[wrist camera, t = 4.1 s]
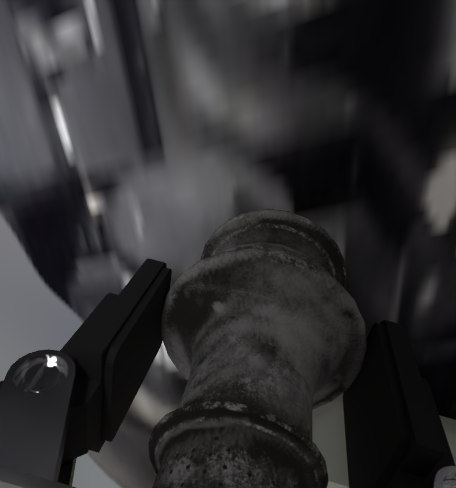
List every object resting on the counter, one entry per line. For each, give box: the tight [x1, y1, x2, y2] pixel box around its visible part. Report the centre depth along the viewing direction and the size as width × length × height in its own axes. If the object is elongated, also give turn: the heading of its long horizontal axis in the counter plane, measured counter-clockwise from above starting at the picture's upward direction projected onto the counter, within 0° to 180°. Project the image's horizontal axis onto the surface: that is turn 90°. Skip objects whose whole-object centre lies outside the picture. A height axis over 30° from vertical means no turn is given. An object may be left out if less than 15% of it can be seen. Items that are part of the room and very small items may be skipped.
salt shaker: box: [149, 209, 367, 488], centre depth 9 cm, size 6×6×12 cm
